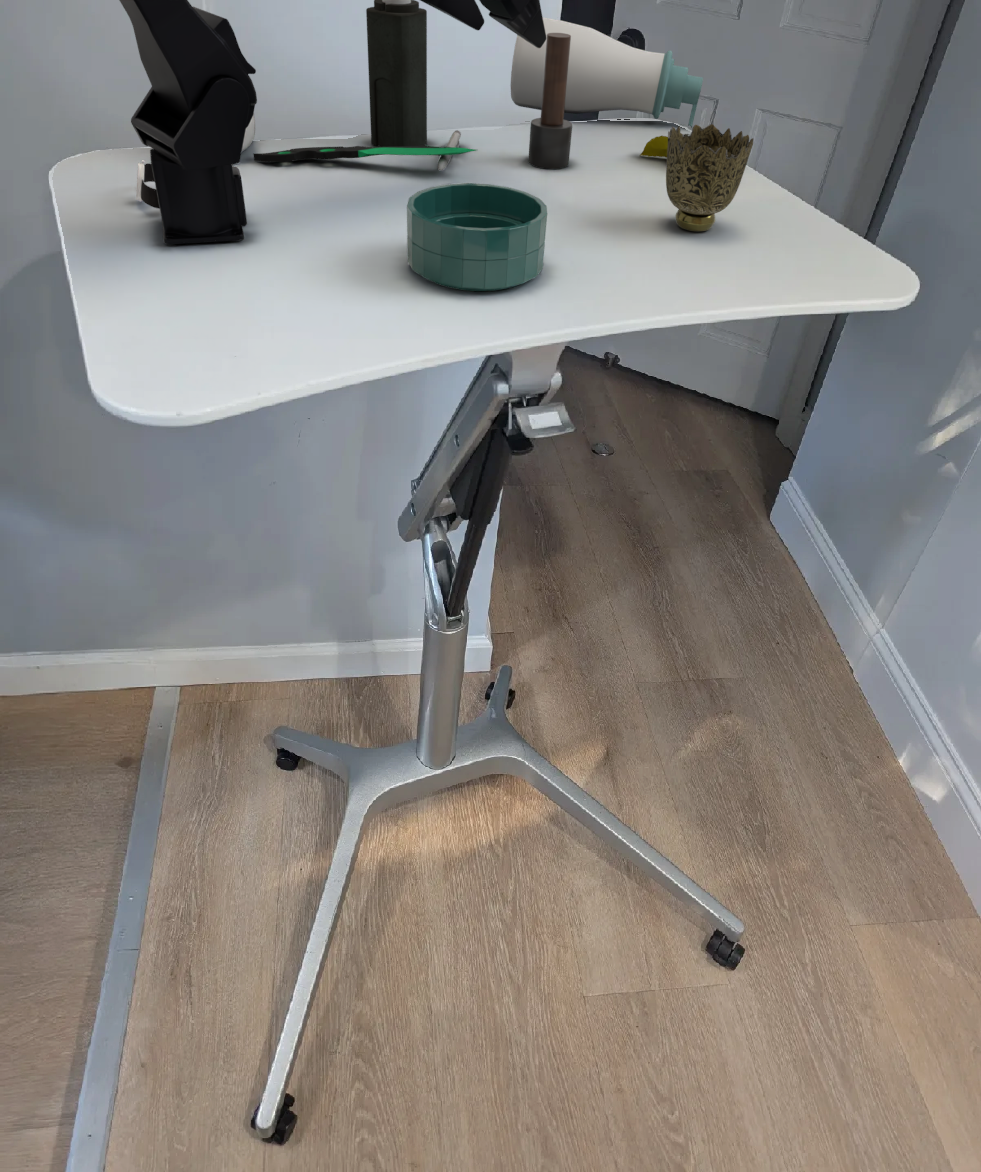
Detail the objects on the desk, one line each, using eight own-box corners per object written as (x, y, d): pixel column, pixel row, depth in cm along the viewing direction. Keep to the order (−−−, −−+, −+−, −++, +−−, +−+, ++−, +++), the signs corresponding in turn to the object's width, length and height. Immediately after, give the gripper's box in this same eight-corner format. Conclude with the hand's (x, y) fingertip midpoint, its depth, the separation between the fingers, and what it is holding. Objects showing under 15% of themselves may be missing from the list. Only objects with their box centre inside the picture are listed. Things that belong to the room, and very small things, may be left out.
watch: (137, 189, 84) (128, 148, 82) (189, 187, 86) (182, 146, 83) (136, 217, 79) (127, 174, 77) (192, 215, 80) (185, 172, 78)
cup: (707, 210, 88) (724, 121, 82) (749, 237, 82) (771, 143, 77) (639, 216, 85) (653, 125, 80) (679, 244, 80) (696, 148, 75)
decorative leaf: (719, 174, 96) (711, 149, 94) (707, 188, 96) (699, 164, 94) (654, 152, 102) (645, 128, 99) (643, 165, 102) (633, 142, 99)
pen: (462, 141, 101) (462, 128, 100) (444, 179, 91) (444, 164, 90) (453, 141, 101) (453, 127, 100) (434, 178, 91) (434, 163, 90)
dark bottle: (431, 143, 101) (431, -143, 85) (404, 153, 97) (399, -143, 81) (394, 134, 103) (388, -147, 86) (366, 144, 99) (354, -147, 83)
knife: (248, 154, 92) (267, 146, 96) (250, 163, 92) (269, 154, 96) (470, 153, 87) (481, 144, 91) (471, 161, 88) (481, 152, 92)
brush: (535, 170, 95) (545, 39, 87) (522, 157, 98) (531, 30, 90) (574, 168, 96) (587, 39, 88) (560, 156, 99) (571, 30, 92)
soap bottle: (505, 104, 109) (691, 137, 108) (518, 10, 104) (713, 42, 103) (515, 105, 118) (688, 134, 116) (528, 17, 113) (708, 47, 111)
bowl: (426, 300, 69) (426, 234, 65) (395, 247, 76) (394, 186, 73) (560, 289, 71) (567, 225, 68) (517, 240, 79) (521, 180, 76)
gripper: (548, -196, 67) (630, -26, 80) (405, -204, 78) (498, -52, 90) (462, -64, 68) (556, 83, 81) (333, -89, 79) (434, 44, 92)
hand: (510, 34), depth 86 cm, fingers open, 9 cm apart
